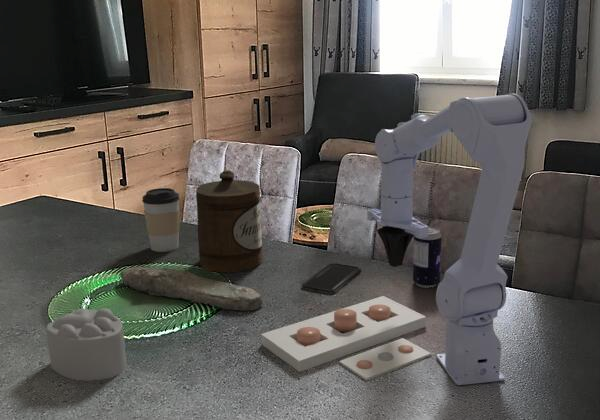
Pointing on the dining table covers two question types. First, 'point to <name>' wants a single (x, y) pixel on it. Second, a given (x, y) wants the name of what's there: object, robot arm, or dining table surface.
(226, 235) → the wooden container
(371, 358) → the pattern card
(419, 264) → the beverage can
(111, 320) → the lumpy-topped squat cylinder
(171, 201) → the coffee cup
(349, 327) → the button
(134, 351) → the dining table surface
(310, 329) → the button
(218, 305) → the long grey stone
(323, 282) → the phone
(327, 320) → the button board
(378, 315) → the button
